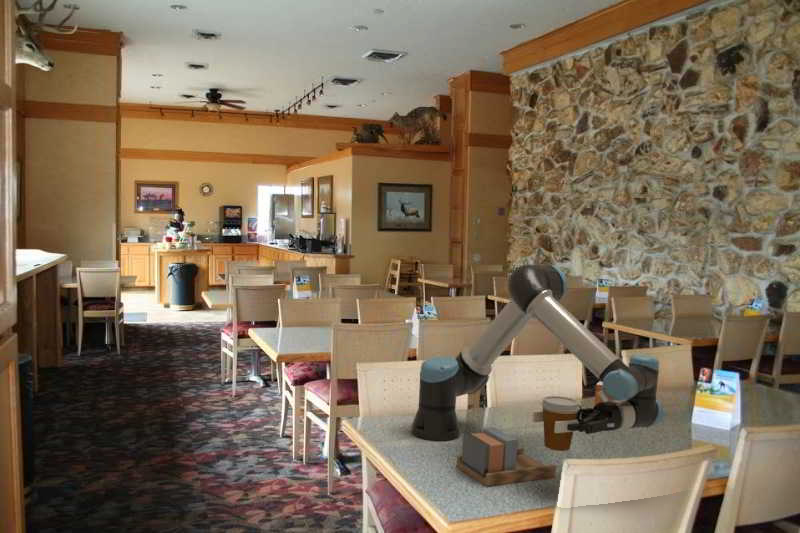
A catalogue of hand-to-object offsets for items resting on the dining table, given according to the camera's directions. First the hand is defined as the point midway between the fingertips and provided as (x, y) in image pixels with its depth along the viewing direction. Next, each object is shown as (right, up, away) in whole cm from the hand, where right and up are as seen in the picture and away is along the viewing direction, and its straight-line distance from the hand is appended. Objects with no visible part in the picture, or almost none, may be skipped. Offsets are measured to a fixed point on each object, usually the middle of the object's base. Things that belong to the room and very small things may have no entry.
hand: (544, 421), depth 167 cm
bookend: (-17, -15, +9) cm, 24 cm away
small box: (+37, -16, +69) cm, 80 cm away
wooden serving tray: (-8, -16, +13) cm, 23 cm away
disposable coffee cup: (+4, -7, +3) cm, 8 cm away
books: (-12, -15, +11) cm, 22 cm away
